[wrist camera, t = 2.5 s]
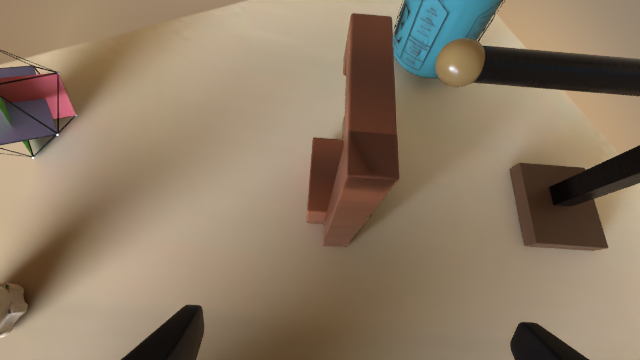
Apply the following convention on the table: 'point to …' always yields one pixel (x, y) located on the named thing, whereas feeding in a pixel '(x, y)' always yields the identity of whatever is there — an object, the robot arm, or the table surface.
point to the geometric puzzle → (31, 105)
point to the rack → (548, 180)
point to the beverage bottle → (437, 29)
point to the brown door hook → (358, 137)
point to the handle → (10, 306)
